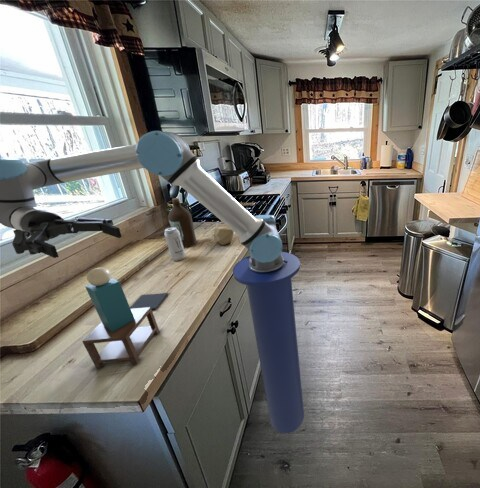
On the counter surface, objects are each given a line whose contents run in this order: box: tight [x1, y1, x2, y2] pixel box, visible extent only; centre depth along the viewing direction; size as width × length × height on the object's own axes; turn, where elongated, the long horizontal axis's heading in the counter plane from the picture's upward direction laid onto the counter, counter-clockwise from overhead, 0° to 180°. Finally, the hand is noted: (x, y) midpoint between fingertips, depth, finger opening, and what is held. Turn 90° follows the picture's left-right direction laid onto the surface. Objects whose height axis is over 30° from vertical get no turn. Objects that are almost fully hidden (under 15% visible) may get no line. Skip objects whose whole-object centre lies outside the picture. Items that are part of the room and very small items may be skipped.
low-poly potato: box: [212, 224, 235, 246], centre depth 139 cm, size 15×11×12 cm
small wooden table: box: [82, 307, 160, 369], centre depth 70 cm, size 10×12×9 cm
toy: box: [84, 267, 135, 332], centre depth 65 cm, size 5×5×16 cm
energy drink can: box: [163, 226, 186, 262], centre depth 121 cm, size 6×6×15 cm
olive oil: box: [167, 197, 197, 248], centre depth 135 cm, size 11×11×25 cm
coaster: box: [129, 292, 169, 311], centre depth 91 cm, size 9×9×1 cm
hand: (89, 241), depth 64 cm, fingers open, 13 cm apart
